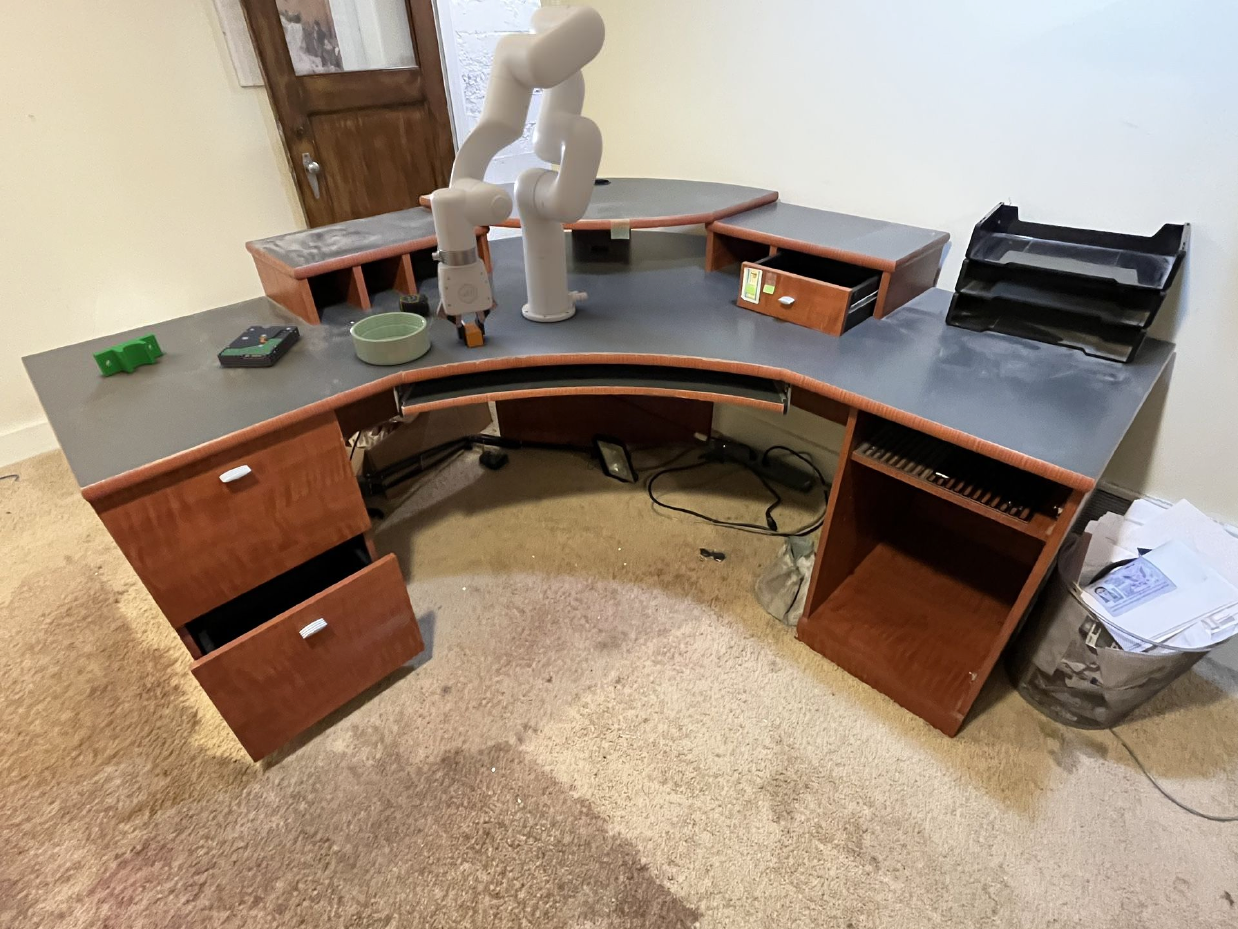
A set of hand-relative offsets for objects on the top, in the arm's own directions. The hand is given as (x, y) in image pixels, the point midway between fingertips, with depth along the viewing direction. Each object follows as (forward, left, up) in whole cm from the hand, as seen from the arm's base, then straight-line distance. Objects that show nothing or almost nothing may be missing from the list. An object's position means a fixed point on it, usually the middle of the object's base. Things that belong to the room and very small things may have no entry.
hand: (472, 339), depth 135 cm
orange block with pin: (0, -2, 0) cm, 2 cm away
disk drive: (+41, -14, -1) cm, 44 cm away
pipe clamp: (+64, -18, -1) cm, 67 cm away
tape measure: (+7, -21, 0) cm, 23 cm away
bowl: (+16, -2, 0) cm, 16 cm away
